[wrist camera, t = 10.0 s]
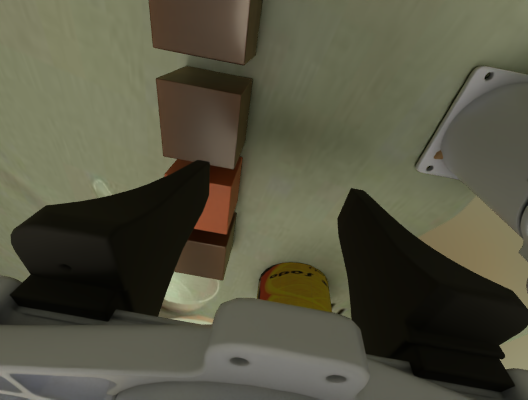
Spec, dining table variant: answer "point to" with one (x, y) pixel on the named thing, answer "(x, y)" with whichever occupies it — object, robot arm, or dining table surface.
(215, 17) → the walnut block
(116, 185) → the dining table surface
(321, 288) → the beverage can
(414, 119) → the dining table surface
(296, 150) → the dining table surface
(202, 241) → the walnut block
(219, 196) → the terracotta block
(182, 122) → the walnut block
